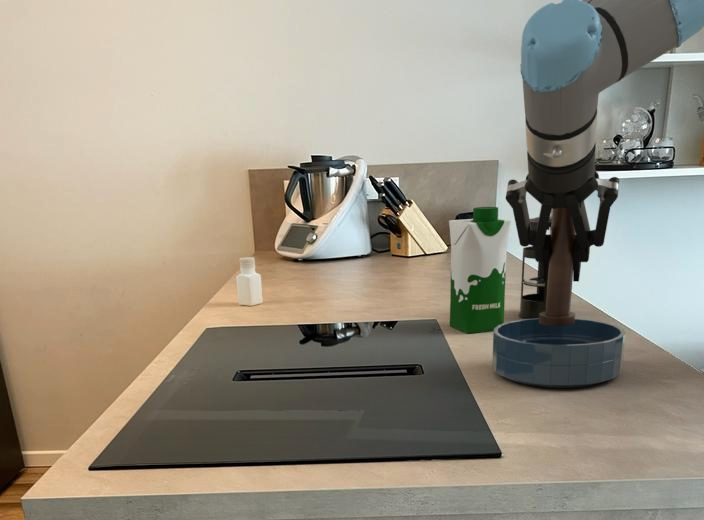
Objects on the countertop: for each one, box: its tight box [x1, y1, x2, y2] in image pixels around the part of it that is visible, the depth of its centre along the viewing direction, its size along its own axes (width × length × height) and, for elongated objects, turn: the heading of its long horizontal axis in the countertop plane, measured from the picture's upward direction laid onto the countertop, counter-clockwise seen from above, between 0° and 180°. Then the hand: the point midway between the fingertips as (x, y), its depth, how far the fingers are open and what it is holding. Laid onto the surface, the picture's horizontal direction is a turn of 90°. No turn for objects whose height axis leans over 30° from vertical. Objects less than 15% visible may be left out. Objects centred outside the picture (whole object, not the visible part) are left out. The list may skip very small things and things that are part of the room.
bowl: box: [491, 317, 627, 389], centre depth 108 cm, size 17×17×6 cm
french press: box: [518, 210, 573, 319], centre depth 140 cm, size 12×9×23 cm
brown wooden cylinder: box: [539, 208, 576, 326], centre depth 105 cm, size 5×5×16 cm
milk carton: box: [448, 206, 512, 334], centre depth 133 cm, size 9×9×20 cm
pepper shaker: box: [235, 256, 264, 307], centre depth 164 cm, size 4×4×10 cm
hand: (562, 272), depth 109 cm, fingers closed on brown wooden cylinder, 3 cm apart
